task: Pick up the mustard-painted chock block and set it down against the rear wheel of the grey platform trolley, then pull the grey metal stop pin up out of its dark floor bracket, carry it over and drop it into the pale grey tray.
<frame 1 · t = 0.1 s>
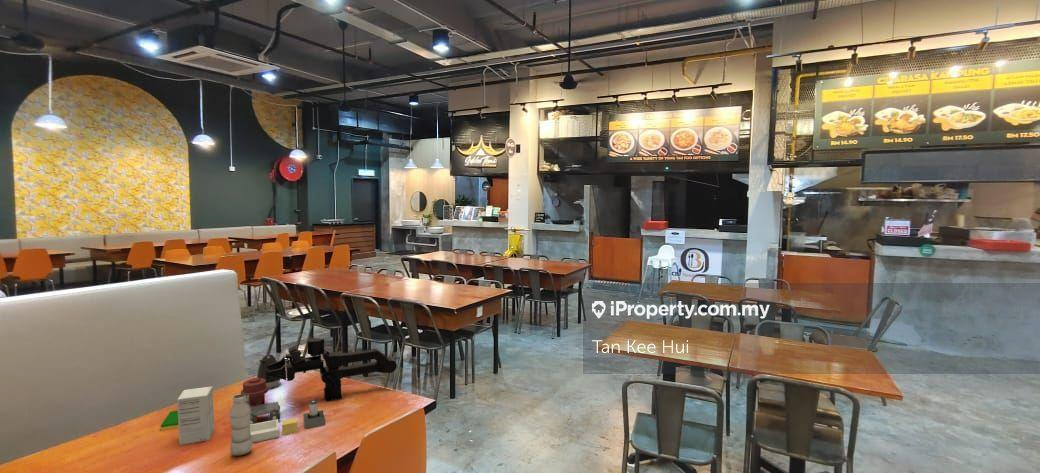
hand: (266, 370, 193), 17 cm above the table, tool horizontal, fingers open, 9 cm apart
trolley: (263, 420, 185), on the table
mechanical component: (255, 408, 196), on the table
dish sponge: (176, 423, 184), on the table
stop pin: (313, 411, 181), in the pin bracket
pin bracket: (314, 423, 182), on the table
chock: (289, 431, 175), on the table
plastic bottle: (242, 453, 160), on the table
supplement box: (197, 437, 171), on the table
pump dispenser: (269, 387, 219), on the table
tray: (261, 435, 172), on the table
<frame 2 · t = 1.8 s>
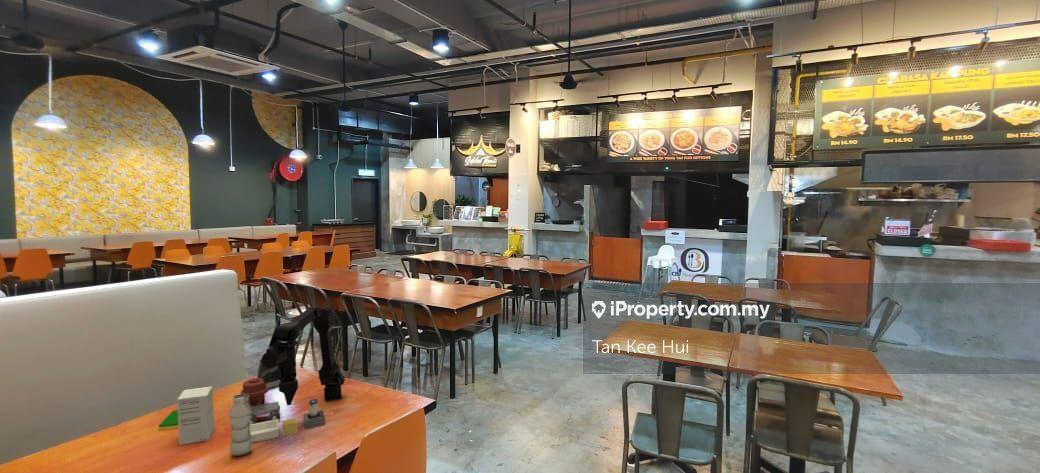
hand: (288, 400, 174), 12 cm above the table, tool pointing down, fingers open, 9 cm apart
nothing on the table moved.
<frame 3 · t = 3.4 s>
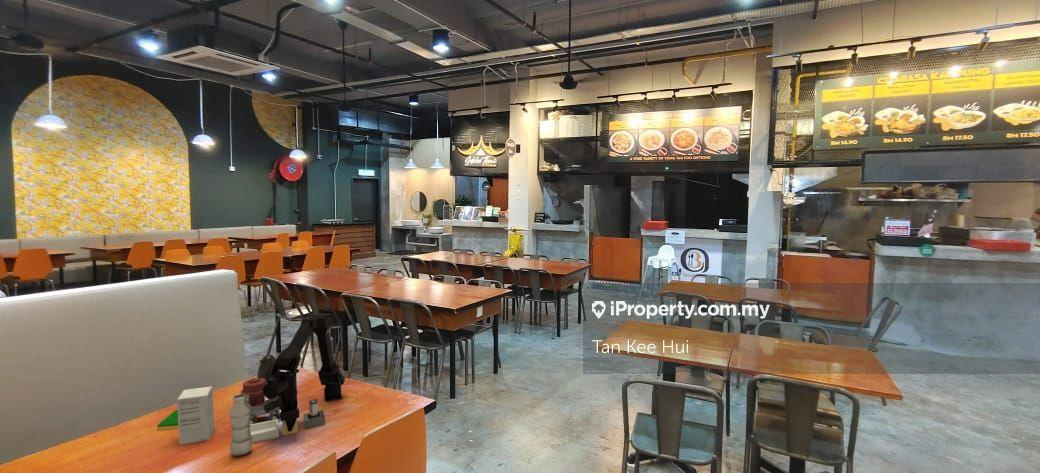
hand: (289, 428, 175), 1 cm above the table, tool pointing down, fingers closed on chock, 4 cm apart
chock: (289, 431, 175), on the table, touching gripper
everything else where it was.
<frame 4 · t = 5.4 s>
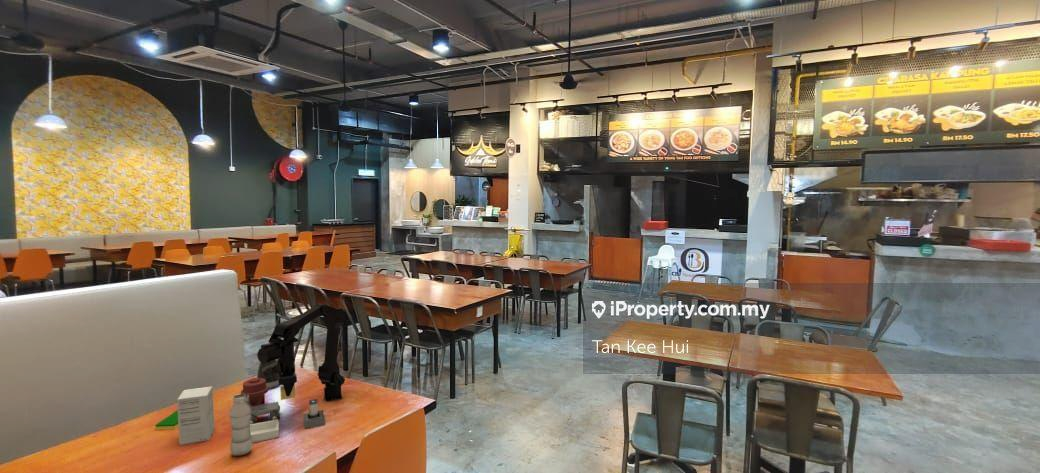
hand: (287, 394, 184), 10 cm above the table, tool pointing down, fingers closed on chock, 4 cm apart
chock: (287, 396, 184), point 9 cm above the table, touching gripper
when the fingers open (1 cm above the table, at t = 7.2 s): chock stays where it is, on the table.
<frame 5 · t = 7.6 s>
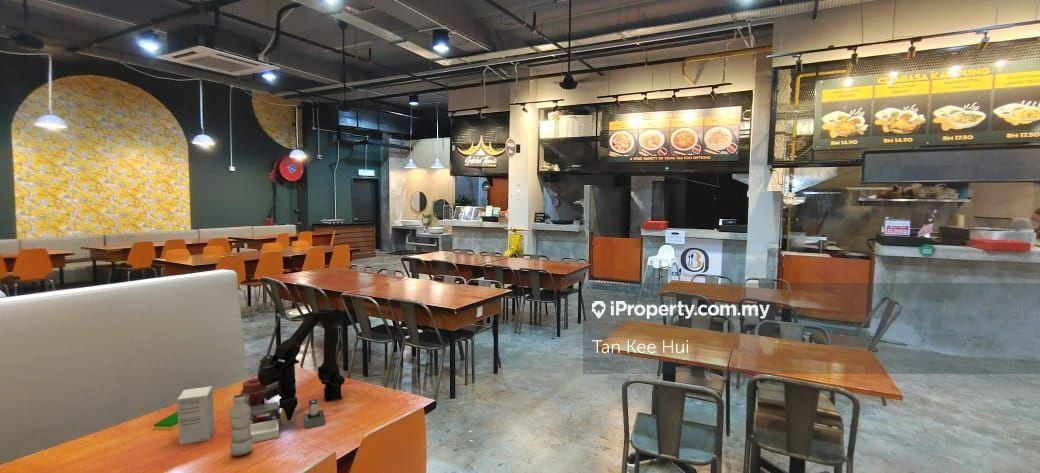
hand: (288, 415, 185), 1 cm above the table, tool pointing down, fingers open, 9 cm apart
chock: (288, 419, 185), on the table
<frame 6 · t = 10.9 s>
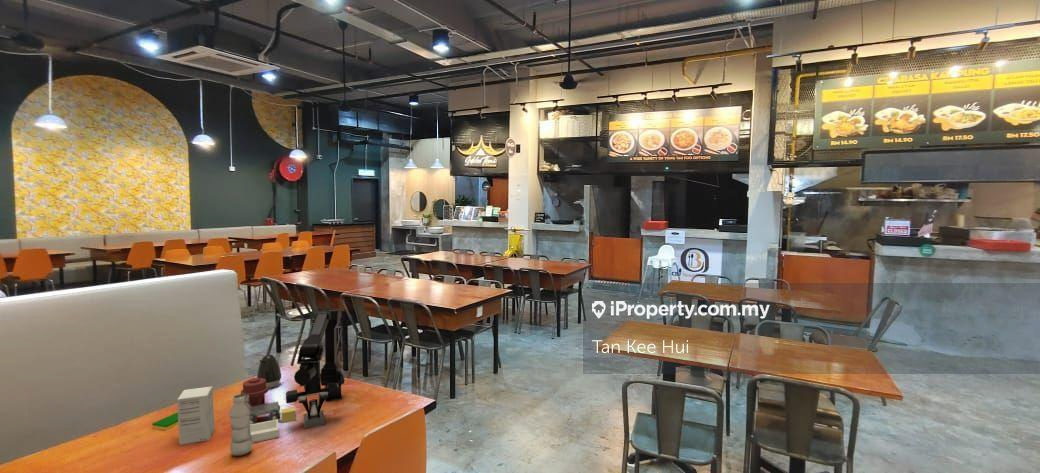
hand: (313, 414, 182), 4 cm above the table, tool pointing down, fingers closed on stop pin, 3 cm apart
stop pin: (313, 411, 181), in the pin bracket, touching gripper
when the fingers open (6 cm above the table, at t = 14.4 s): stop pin drops 2 cm, resting on tray.
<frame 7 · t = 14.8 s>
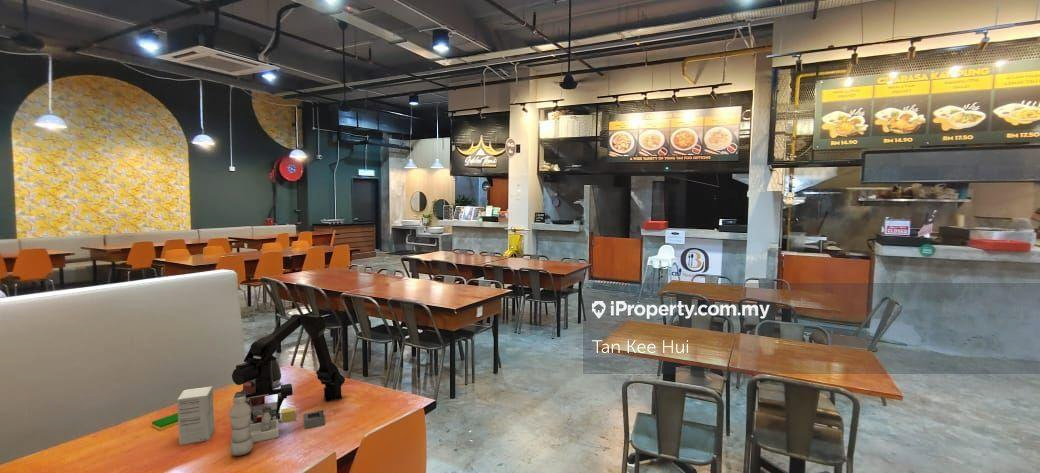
hand: (265, 416, 173), 6 cm above the table, tool pointing down, fingers open, 8 cm apart
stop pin: (266, 420, 173), in the tray
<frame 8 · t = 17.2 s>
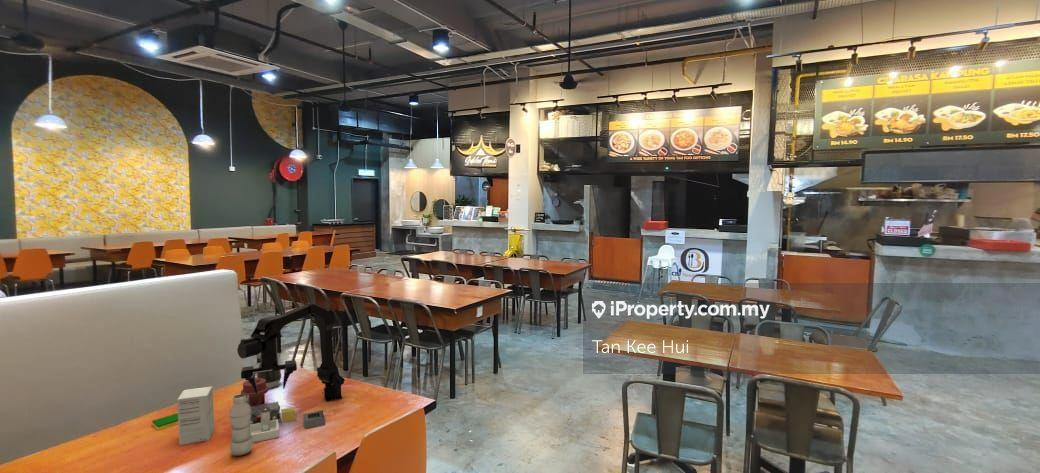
hand: (270, 390, 181), 13 cm above the table, tool pointing down, fingers open, 9 cm apart
at the end: chock 1.1 cm from the target spot, on the table; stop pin inside the target area (1.8 cm from its centre), point 5.0 cm above the table; the gripper is holding nothing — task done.
